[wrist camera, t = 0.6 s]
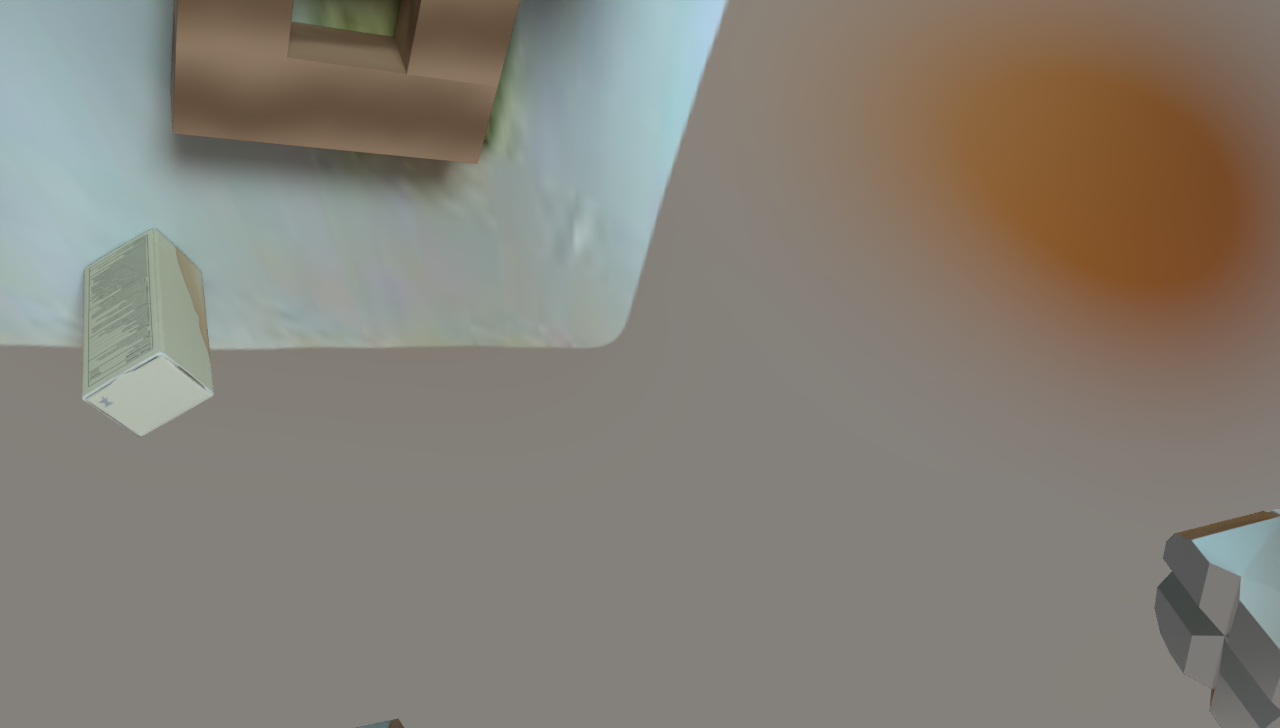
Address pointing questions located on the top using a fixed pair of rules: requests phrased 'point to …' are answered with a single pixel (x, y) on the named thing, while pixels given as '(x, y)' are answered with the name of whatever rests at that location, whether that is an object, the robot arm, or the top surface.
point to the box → (145, 334)
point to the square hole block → (341, 77)
